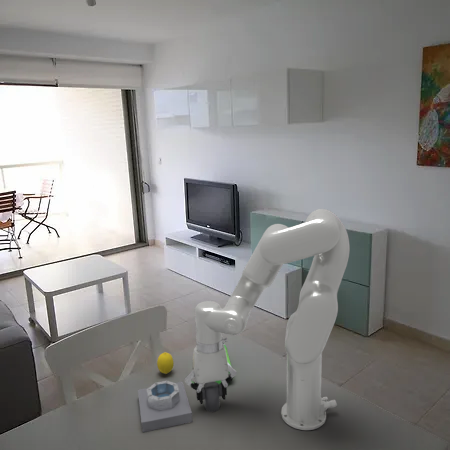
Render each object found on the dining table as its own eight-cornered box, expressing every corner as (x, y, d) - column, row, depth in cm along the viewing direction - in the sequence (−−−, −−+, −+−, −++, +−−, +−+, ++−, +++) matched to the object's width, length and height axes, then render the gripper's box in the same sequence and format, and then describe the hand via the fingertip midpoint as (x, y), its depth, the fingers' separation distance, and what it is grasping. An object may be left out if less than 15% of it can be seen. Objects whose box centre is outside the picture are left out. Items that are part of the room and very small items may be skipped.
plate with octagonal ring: (183, 389, 136) (182, 381, 135) (192, 422, 121) (191, 412, 120) (138, 398, 132) (137, 389, 132) (142, 432, 117) (141, 422, 116)
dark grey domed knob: (220, 400, 130) (219, 379, 128) (224, 409, 126) (223, 388, 124) (200, 404, 128) (199, 383, 127) (203, 413, 124) (202, 392, 123)
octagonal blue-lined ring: (176, 389, 131) (175, 379, 130) (181, 406, 123) (180, 396, 122) (146, 394, 129) (146, 384, 128) (149, 413, 120) (148, 402, 120)
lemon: (175, 369, 148) (174, 348, 146) (172, 378, 142) (170, 357, 140) (160, 369, 148) (158, 348, 146) (156, 378, 143) (154, 356, 141)
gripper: (234, 333, 128) (236, 387, 132) (177, 342, 124) (181, 397, 128) (242, 345, 121) (243, 401, 125) (182, 355, 117) (185, 412, 121)
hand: (211, 398), depth 126 cm, fingers closed on dark grey domed knob, 6 cm apart
